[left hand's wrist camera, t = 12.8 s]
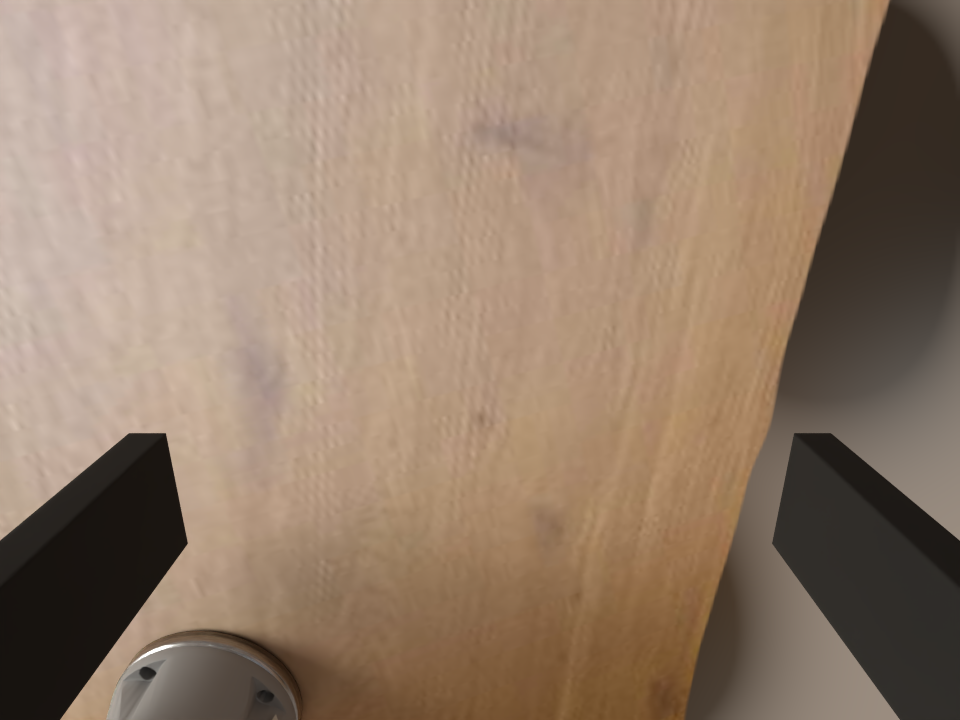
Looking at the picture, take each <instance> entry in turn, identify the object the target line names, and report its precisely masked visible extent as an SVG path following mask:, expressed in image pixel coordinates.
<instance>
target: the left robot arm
mask: <svg viewBox="0 0 960 720" xmlns="http://www.w3.org/2000/svg"><path fill="white" fill-rule="evenodd" d="M187 544H188V542H187V537H186V532H185V527H184V522H183V517H182V512H181V507H180V502H179V497H178V492H177V487H176V482H175V477H174V472H173V467H172V462H171V457H170V452H169V447H168V442H167V437H166V433H129V434H128V435H127V436H125V437H124V438H123V439H122V440H121V441H119V442H118V443H117V444H116V445H115V446H113V447H112V448H111V449H110V450H109V451H107V452H106V453H105V454H104V455H103V456H101V457H100V458H99V459H98V460H97V461H95V462H94V463H93V464H92V465H91V466H89V467H88V468H87V469H86V470H85V471H83V472H82V473H81V474H80V475H79V476H77V477H76V478H75V479H74V480H73V481H71V482H70V483H69V484H68V485H67V486H65V487H64V488H63V489H62V490H61V491H59V492H58V493H57V494H56V495H55V496H53V497H52V498H51V499H50V500H49V501H47V502H46V503H45V504H44V505H43V506H41V507H40V508H39V509H38V510H37V511H35V512H34V513H33V514H32V515H31V516H29V517H28V518H27V519H26V520H25V521H23V522H22V523H21V524H20V525H19V526H17V527H16V528H15V529H14V530H13V531H11V532H10V533H9V534H8V535H7V536H5V537H4V538H3V539H2V540H1V541H0V720H60V719H61V718H62V716H63V715H64V713H65V712H66V711H67V709H68V708H69V707H70V705H71V704H72V702H73V701H74V700H75V698H76V697H77V696H78V694H79V693H80V691H81V690H82V689H83V687H84V686H85V684H86V683H87V682H88V680H89V679H90V678H91V676H92V675H93V673H94V672H95V671H96V669H97V668H98V667H99V665H100V664H101V662H102V661H103V660H104V658H105V657H106V656H107V654H108V653H109V651H110V650H111V649H112V647H113V646H114V645H115V643H116V642H117V640H118V639H119V638H120V636H121V635H122V633H123V632H124V631H125V629H126V628H127V627H128V625H129V624H130V622H131V621H132V620H133V618H134V617H135V616H136V614H137V613H138V611H139V610H140V609H141V607H142V606H143V605H144V603H145V602H146V600H147V599H148V598H149V596H150V595H151V594H152V592H153V591H154V589H155V588H156V587H157V585H158V584H159V583H160V581H161V580H162V578H163V577H164V576H165V574H166V573H167V571H168V570H169V569H170V567H171V566H172V565H173V563H174V562H175V560H176V559H177V558H178V556H179V555H180V554H181V552H182V551H183V549H184V548H185V547H186V545H187ZM772 544H773V545H774V547H775V548H776V549H777V551H778V552H779V554H780V555H781V556H782V558H783V559H784V560H785V562H786V563H787V565H788V566H789V567H790V569H791V570H792V571H793V573H794V574H795V576H796V577H797V578H798V580H799V581H800V582H801V584H802V585H803V587H804V588H805V589H806V591H807V592H808V593H809V595H810V596H811V598H812V599H813V600H814V602H815V603H816V605H817V606H818V607H819V609H820V610H821V611H822V613H823V614H824V616H825V617H826V618H827V620H828V621H829V622H830V624H831V625H832V627H833V628H834V629H835V631H836V632H837V633H838V635H839V636H840V638H841V639H842V640H843V642H844V643H845V645H846V646H847V647H848V649H849V650H850V651H851V653H852V654H853V655H854V657H855V658H856V660H857V661H858V662H859V664H860V665H861V667H862V668H863V669H864V671H865V672H866V673H867V675H868V676H869V678H870V679H871V680H872V682H873V683H874V684H875V686H876V687H877V689H878V690H879V691H880V693H881V694H882V695H883V697H884V698H885V700H886V701H887V702H888V704H889V705H890V707H891V708H892V709H893V711H894V712H895V713H896V715H897V716H898V718H899V719H900V720H960V541H959V540H958V539H957V538H956V537H955V536H953V535H952V534H951V533H950V532H949V531H947V530H946V529H945V528H944V527H943V526H941V525H940V524H939V523H938V522H937V521H935V520H934V519H933V518H932V517H931V516H929V515H928V514H927V513H926V512H925V511H923V510H922V509H921V508H920V507H919V506H917V505H916V504H915V503H914V502H913V501H911V500H910V499H909V498H908V497H907V496H905V495H904V494H903V493H902V492H901V491H899V490H898V489H897V488H896V487H895V486H893V485H892V484H891V483H890V482H889V481H887V480H886V479H885V478H884V477H883V476H881V475H880V474H879V473H878V472H877V471H875V470H874V469H873V468H872V467H871V466H869V465H868V464H867V463H866V462H865V461H863V460H862V459H861V458H860V457H859V456H857V455H856V454H855V453H854V452H853V451H851V450H850V449H849V448H848V447H847V446H845V445H844V444H843V443H842V442H841V441H839V440H838V439H837V438H836V437H835V436H833V435H832V434H831V433H795V434H794V437H793V442H792V447H791V452H790V457H789V462H788V467H787V472H786V477H785V482H784V487H783V492H782V497H781V502H780V507H779V512H778V517H777V522H776V527H775V532H774V537H773V542H772ZM301 714H302V700H301V695H300V691H299V688H298V686H297V684H296V682H295V680H294V678H293V676H292V675H291V673H290V672H289V671H288V670H287V668H286V667H285V666H284V665H283V664H282V663H281V662H280V661H279V660H278V659H277V658H275V657H274V656H273V655H272V654H270V653H269V652H267V651H266V650H264V649H263V648H261V647H259V646H258V645H256V644H254V643H252V642H249V641H247V640H244V639H242V638H239V637H236V636H232V635H228V634H224V633H218V632H210V631H189V632H181V633H176V634H172V635H168V636H165V637H162V638H160V639H158V640H156V641H154V642H152V643H150V644H149V645H147V646H146V647H144V648H143V649H142V650H141V651H140V652H139V653H138V654H137V655H136V656H135V657H134V658H133V660H132V661H131V662H130V664H129V665H128V667H127V668H126V670H125V671H124V673H123V674H122V676H121V678H120V679H119V681H118V683H117V686H116V689H115V691H114V693H113V696H112V700H111V704H110V707H109V711H108V715H107V719H106V720H300V719H301Z"/></svg>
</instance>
